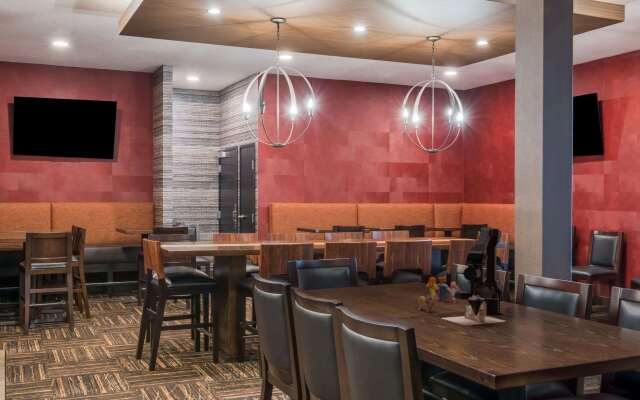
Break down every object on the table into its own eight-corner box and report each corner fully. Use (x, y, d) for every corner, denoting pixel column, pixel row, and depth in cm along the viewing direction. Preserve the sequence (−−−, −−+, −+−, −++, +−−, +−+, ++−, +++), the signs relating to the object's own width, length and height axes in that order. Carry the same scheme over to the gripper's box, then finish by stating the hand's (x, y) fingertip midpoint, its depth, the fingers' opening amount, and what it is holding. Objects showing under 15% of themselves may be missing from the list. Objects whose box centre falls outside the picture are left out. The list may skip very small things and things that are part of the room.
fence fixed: (483, 316, 313) (483, 302, 313) (486, 317, 311) (486, 303, 311) (467, 318, 309) (467, 303, 309) (470, 318, 307) (470, 304, 307)
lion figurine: (440, 312, 324) (440, 293, 324) (432, 313, 321) (432, 294, 321) (418, 308, 336) (418, 289, 336) (410, 309, 333) (410, 290, 333)
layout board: (481, 315, 316) (481, 314, 316) (505, 321, 301) (505, 320, 301) (440, 318, 307) (440, 318, 307) (464, 325, 291) (464, 324, 291)
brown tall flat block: (464, 317, 308) (464, 304, 308) (467, 316, 309) (467, 304, 309) (481, 322, 296) (481, 309, 296) (484, 321, 297) (484, 309, 297)
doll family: (461, 303, 351) (461, 277, 351) (447, 305, 345) (447, 279, 345) (432, 298, 368) (432, 273, 368) (418, 300, 363) (418, 275, 363)
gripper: (468, 281, 287) (467, 318, 286) (506, 280, 293) (505, 317, 293) (453, 278, 297) (453, 315, 297) (490, 278, 304) (490, 313, 303)
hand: (475, 315), depth 297 cm, fingers closed
